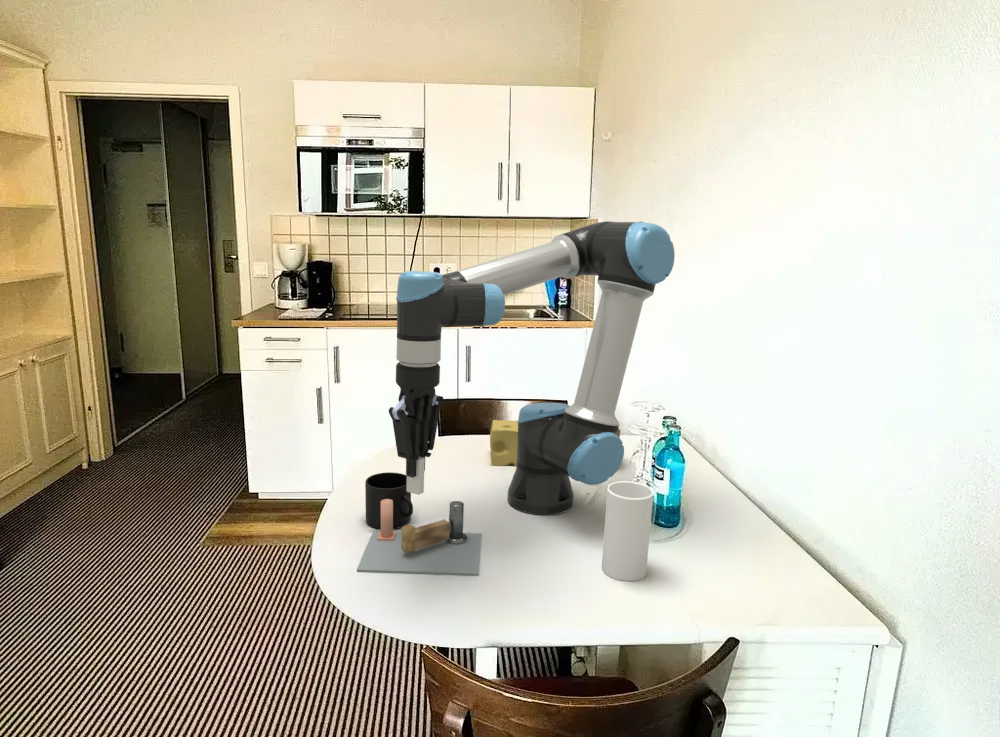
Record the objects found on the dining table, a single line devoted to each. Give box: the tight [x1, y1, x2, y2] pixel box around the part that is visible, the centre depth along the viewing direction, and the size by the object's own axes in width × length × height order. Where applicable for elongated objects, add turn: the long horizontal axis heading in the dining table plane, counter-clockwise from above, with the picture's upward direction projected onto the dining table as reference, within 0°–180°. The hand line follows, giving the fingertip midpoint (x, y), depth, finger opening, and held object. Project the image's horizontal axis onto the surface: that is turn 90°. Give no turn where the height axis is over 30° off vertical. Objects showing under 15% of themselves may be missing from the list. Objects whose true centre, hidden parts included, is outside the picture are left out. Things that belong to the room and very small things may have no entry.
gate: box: [401, 519, 449, 553], centre depth 128 cm, size 10×2×4 cm, turn 129°
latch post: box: [377, 499, 396, 541], centre depth 132 cm, size 3×3×8 cm
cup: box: [601, 480, 654, 582], centre depth 122 cm, size 8×8×16 cm
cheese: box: [489, 419, 518, 467], centre depth 179 cm, size 10×11×10 cm
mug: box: [364, 471, 414, 530], centre depth 139 cm, size 9×12×9 cm
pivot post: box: [445, 500, 467, 545], centre depth 132 cm, size 4×4×8 cm
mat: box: [356, 529, 482, 577], centre depth 128 cm, size 22×16×1 cm
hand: (415, 491), depth 119 cm, fingers closed
